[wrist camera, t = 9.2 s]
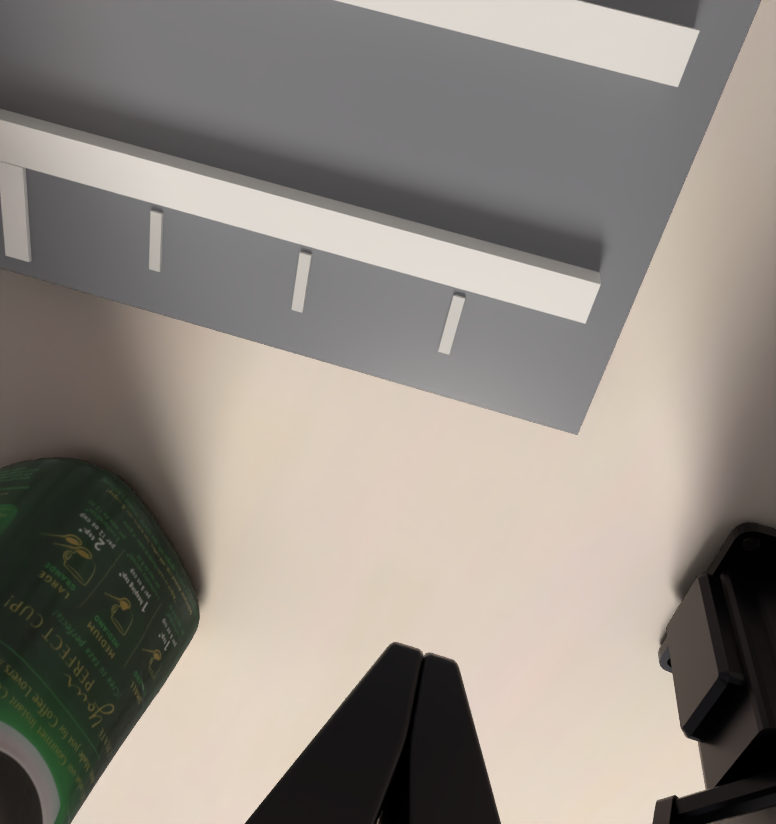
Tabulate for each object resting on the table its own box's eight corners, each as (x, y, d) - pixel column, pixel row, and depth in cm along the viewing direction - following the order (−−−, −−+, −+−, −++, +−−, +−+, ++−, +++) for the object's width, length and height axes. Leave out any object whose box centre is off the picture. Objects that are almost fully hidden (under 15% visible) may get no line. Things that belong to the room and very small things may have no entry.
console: (804, -160, 14) (851, -186, 12) (576, 398, 21) (577, 451, 19) (-179, -383, 16) (-310, -446, 13) (-88, 208, 23) (-165, 235, 20)
